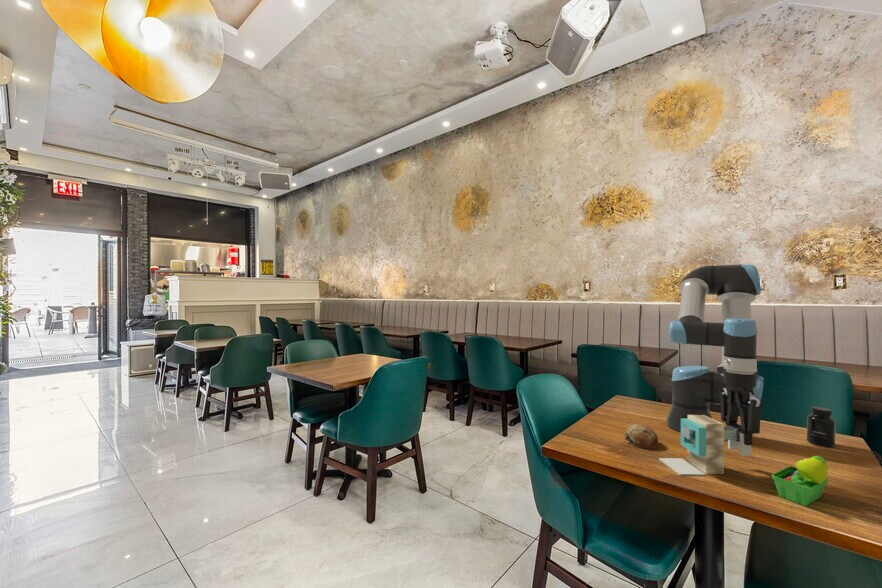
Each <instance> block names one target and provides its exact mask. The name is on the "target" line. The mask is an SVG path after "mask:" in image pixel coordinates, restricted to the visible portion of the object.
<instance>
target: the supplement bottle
mask: <svg viewBox="0 0 882 588" xmlns="http://www.w3.org/2000/svg"><path fill="white" fill-rule="evenodd" d="M832 412H833V411H832V409H830V408H826V407H821V406H812V407H811V413H810V414H808V415H807V417H806V441H807V442H808V443H810V444H811V445H814V444H815V446H818V445H819V446H818V447H822V446H824V448H834V447H835V446H836V431H837V429H836V428H837V425H836V423H837V421H836V420H835V419H834V418H832V416H833V413H832Z"/></svg>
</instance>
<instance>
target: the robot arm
mask: <svg viewBox="0 0 882 588" xmlns="http://www.w3.org/2000/svg"><path fill="white" fill-rule="evenodd" d="M760 279H761V278H760V274H759V270H758V268H757V267H756V266H755V265H754V264H742V263H741V264H740V263H739V264H724V265H723V264H722V265H721V264H720V265H719V264H718V265H704V266H700V267H697V268H695V269H693V270H691V271H690V272H688V273H687V274H686V275H685V276H683V278H682V279H681V281H680V285H679V293H680V294H681V297H680V305H679V312H678V318H677V320H673V321H670V323H669V328H668V329H669V330H668V331H669V333H668V334H669V335H668V336H669V341H670V342H672V343H673V344H681V345H696V346H697V345H698V346H710V347H711V346H712V347H721V363H720V364H719V365H718V366H717V367H716V371H711V369H710V367H708V366H705V365H702V366H701V365H685V366H678V367H677V366H676V367H674V369H672V378H671V381H672V391H671V394H672V395H671V396H672V397H671V407H670V410H669V413H668V415H667V417H666V426H667V427H669V428H670V429H672V430H675V431H677V432H680V433H681V418H687V419H688V415H705V416H707V417H710V418H712V414H711V412H710V404H712V405H719V406H720V420H721V422H724V423H725V425H726V427H728V425H739V423H738V419H739V418H740V425H741V426H742V431H740V442H737V441H735V440H727V449H728V450H739V455H740V456H741V457H744V456H745V457H746V456H748V457H752V446H753V435H754V434H755V435H756V434H760V431H761V430H760V429H761V417H762V416H761V415H762V411H761V410H762V406H763V404H764V401H763V399H762V395H763V390H764V377H763V376H762V375H758V374H759V371H758V367H757V366H758V365H757V364H758V363H757V362H758V361H757V360H758V359H757V344H758V343H757V338H758V337H757V334H758V328H757V321H756V320H755V319H752V305H751V303H753V302H754V301H755V300H756V299H757V297H756V296H758V295H761V293H762V286H761V280H760ZM707 295H711V296H712V295H713V296H714V295H715V296H716V299H717V300H718V301H719V303H721V322H708V321H705V313H706V311H705V309H706V296H707ZM739 416H740V417H739ZM712 419H713V418H712Z"/></svg>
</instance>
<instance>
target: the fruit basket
mask: <svg viewBox="0 0 882 588" xmlns="http://www.w3.org/2000/svg"><path fill="white" fill-rule="evenodd" d="M828 470H829V465H828V463H827V461H826V459H824V457H822V456H819V455H813V456H811V457H809V458H805V459H801V460H798V461H797V462H796V464H795V467H794V466H787V467H785V468H783V469H781V470H779V471H776V472H774V473H772V474H771V477H772V480H774V481H773V482H774V484H775V487H776V488H775V489H776V491H777V493H778V496H779V497H780V498H784V499H786V500H788V501H791V502H794V503H795V504H799V505H801V506H804V507H807V506H808V505H810V504H812V503H813V502H815V501H816V500H818V499H820V498H821V497H822V495H823V493H824V490H825V487H826V484H827V483H828V482H829V480H830V479H829V478H828Z"/></svg>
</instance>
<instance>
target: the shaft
mask: <svg viewBox="0 0 882 588" xmlns="http://www.w3.org/2000/svg"><path fill="white" fill-rule="evenodd" d="M740 431H742V426H741V424H738V425H728V427H727V426H724V441H728V440H735V441H737V442H739V443H740ZM683 436H684V437H686V438H687V439H689V440H695V431H694V430H692V429H690V428H688V427H686V426H683Z"/></svg>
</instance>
